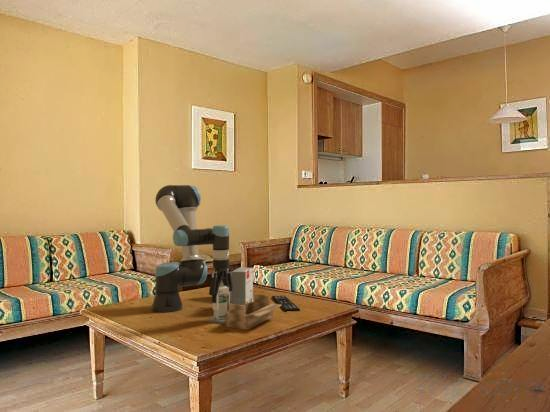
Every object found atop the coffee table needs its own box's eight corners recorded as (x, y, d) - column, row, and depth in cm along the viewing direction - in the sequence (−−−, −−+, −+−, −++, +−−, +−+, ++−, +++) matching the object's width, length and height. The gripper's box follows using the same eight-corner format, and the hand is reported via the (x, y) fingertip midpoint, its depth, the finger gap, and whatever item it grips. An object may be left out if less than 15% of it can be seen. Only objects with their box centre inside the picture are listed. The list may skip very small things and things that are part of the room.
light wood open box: (225, 326, 193) (225, 303, 193) (251, 313, 214) (251, 293, 214) (258, 331, 186) (258, 307, 186) (282, 317, 207) (282, 296, 207)
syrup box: (217, 320, 200) (217, 288, 199) (213, 317, 205) (213, 286, 204) (229, 318, 202) (229, 287, 202) (224, 315, 207) (224, 284, 207)
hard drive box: (245, 312, 218) (245, 272, 217) (230, 311, 219) (230, 271, 219) (253, 304, 233) (253, 267, 233) (239, 304, 235) (239, 266, 234)
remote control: (284, 298, 251) (284, 294, 251) (300, 312, 219) (299, 308, 219) (271, 298, 249) (271, 295, 249) (285, 312, 218) (285, 308, 218)
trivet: (206, 321, 201) (206, 319, 201) (218, 316, 210) (218, 314, 210) (224, 324, 197) (224, 321, 197) (236, 318, 206) (236, 316, 206)
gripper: (214, 262, 192) (214, 313, 192) (240, 256, 211) (240, 303, 211) (200, 261, 195) (200, 311, 195) (226, 255, 214) (227, 301, 215)
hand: (221, 307), depth 203 cm, fingers open, 9 cm apart
